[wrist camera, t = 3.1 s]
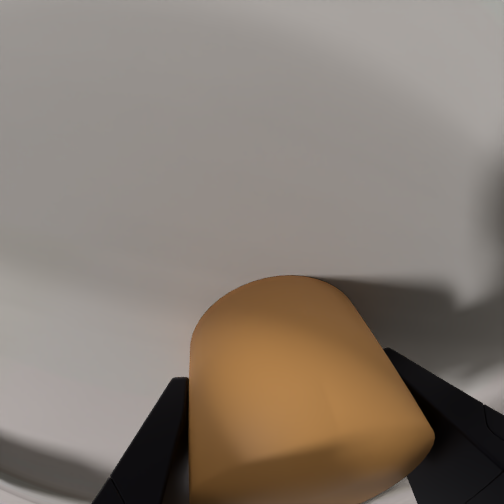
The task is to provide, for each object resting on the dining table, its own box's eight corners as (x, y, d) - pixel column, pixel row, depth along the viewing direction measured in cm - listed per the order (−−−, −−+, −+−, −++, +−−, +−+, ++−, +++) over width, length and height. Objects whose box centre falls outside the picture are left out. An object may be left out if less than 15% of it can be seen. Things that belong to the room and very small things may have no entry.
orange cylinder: (276, 419, 10) (302, 528, 6) (156, 361, 8) (141, 505, 4) (386, 332, 9) (458, 441, 5) (279, 236, 7) (355, 386, 3)
